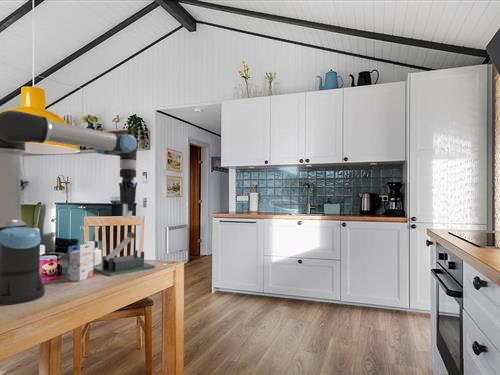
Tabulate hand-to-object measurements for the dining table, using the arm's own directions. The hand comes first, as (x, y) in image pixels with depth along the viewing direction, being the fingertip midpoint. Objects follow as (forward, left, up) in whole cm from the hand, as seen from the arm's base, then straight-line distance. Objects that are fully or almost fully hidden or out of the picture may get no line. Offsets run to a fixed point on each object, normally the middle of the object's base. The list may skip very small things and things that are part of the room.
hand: (127, 217), depth 157 cm
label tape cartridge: (-21, +11, -25) cm, 34 cm away
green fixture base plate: (-1, 0, -25) cm, 25 cm away
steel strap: (-3, 0, -14) cm, 15 cm away
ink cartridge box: (-22, -4, -25) cm, 33 cm away
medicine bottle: (-8, +21, -25) cm, 33 cm away
